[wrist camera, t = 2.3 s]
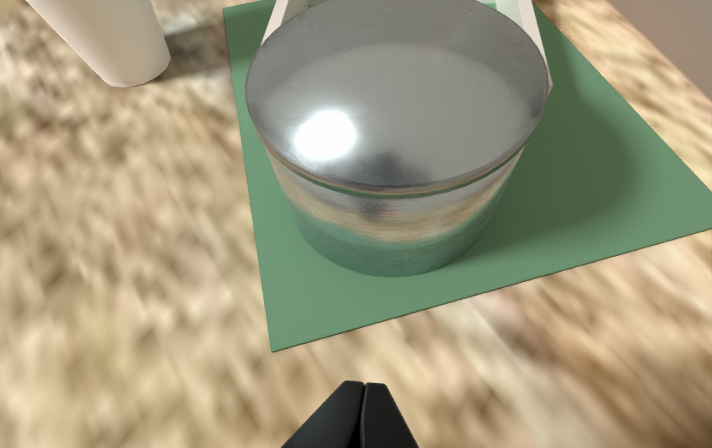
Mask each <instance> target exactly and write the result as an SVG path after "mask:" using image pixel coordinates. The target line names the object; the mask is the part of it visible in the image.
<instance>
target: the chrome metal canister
mask: <svg viewBox="0 0 712 448" xmlns="http://www.w3.org/2000/svg"><path fill="white" fill-rule="evenodd" d="M548 90H549V80H548V71H547V68H546V64H545V61H544V58H543V56H542V54H541V52H540V50H539V48H538V47H537V45H536V44H535V43H534V41H533V40H532V39H531V37H530V36H529V35H528V34H527V33H526V32H525V31H524V30H523V29H522V28H521V27H520V26H519V25H518V24H516V23H515V22H514V21H513V20H511V19H510V18H509V17H507V16H506V15H504V14H502V13H501V12H499V11H497V10H496V9H494V8H492V7H490V6H487V5H485V4H483V3H481V2H478V1H476V0H325V1H323V2H321V3H318V4H316V5H313V6H311V7H309V8H307V9H305V10H303V11H302V12H300V13H298V14H296V15H295V16H293V17H292V18H290V19H289V20H287V21H286V22H284V23H283V24H282V25H281V26H279V27H278V28H277V29H276V30H274V31H273V32H272V33H271V35H270V36H269V37H268V38H267V39H266V40H265V41H264V42H263V43H262V45H261V46H260V48H259V49H258V50H257V52H256V54H255V56H254V57H253V59H252V61H251V63H250V66H249V69H248V72H247V76H246V83H245V98H246V104H247V108H248V112H249V115H250V117H251V120H252V122H253V125H254V127H255V129H256V132H257V134H258V136H259V138H260V140H261V141H262V143H263V145H264V147H265V150H266V152H267V155H268V157H269V160H270V162H271V165H272V168H273V170H274V173H275V175H276V178H277V180H278V183H279V185H280V188H281V191H282V193H283V196H284V198H285V201H286V203H287V206H288V208H289V211H290V213H291V216H292V219H293V221H294V223H295V225H296V227H297V229H298V230H299V232H300V233H301V235H302V236H303V238H304V239H305V240H306V241H307V242H308V243H309V245H310V246H311V247H312V248H313V249H314V250H316V251H317V252H318V253H319V254H321V255H322V256H323V257H325V258H326V259H328V260H330V261H331V262H333V263H334V264H336V265H339V266H341V267H343V268H345V269H348V270H350V271H354V272H357V273H361V274H364V275H370V276H377V277H394V278H395V277H407V276H414V275H419V274H424V273H427V272H430V271H433V270H436V269H439V268H441V267H443V266H445V265H447V264H449V263H451V262H453V261H455V260H456V259H458V258H459V257H461V256H462V255H464V254H465V253H466V252H467V251H468V250H469V249H470V248H472V247H473V246H474V245H475V244H476V242H477V241H478V240H479V239H480V238H481V236H482V235H483V234H484V232H485V230H486V228H487V227H488V225H489V223H490V221H491V219H492V217H493V214H494V212H495V210H496V208H497V206H498V204H499V201H500V199H501V197H502V195H503V193H504V191H505V188H506V186H507V184H508V182H509V180H510V177H511V175H512V173H513V171H514V169H515V167H516V164H517V162H518V160H519V158H520V156H521V153H522V151H523V149H524V147H525V145H526V143H527V142H528V141H529V139H530V137H531V135H532V134H533V132H534V130H535V129H536V127H537V124H538V122H539V120H540V118H541V116H542V114H543V111H544V108H545V105H546V102H547V98H548Z"/></svg>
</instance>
